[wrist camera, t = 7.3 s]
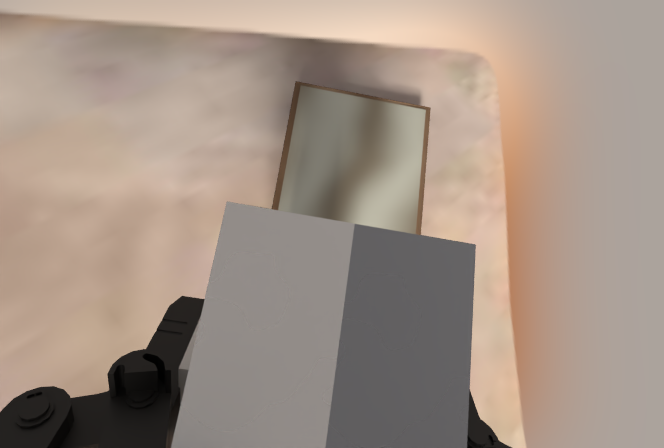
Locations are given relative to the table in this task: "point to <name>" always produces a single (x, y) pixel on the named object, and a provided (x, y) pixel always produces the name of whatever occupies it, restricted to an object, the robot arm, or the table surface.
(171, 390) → the robot arm
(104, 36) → the table surface
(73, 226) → the table surface
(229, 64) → the table surface
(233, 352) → the block
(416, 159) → the tray
